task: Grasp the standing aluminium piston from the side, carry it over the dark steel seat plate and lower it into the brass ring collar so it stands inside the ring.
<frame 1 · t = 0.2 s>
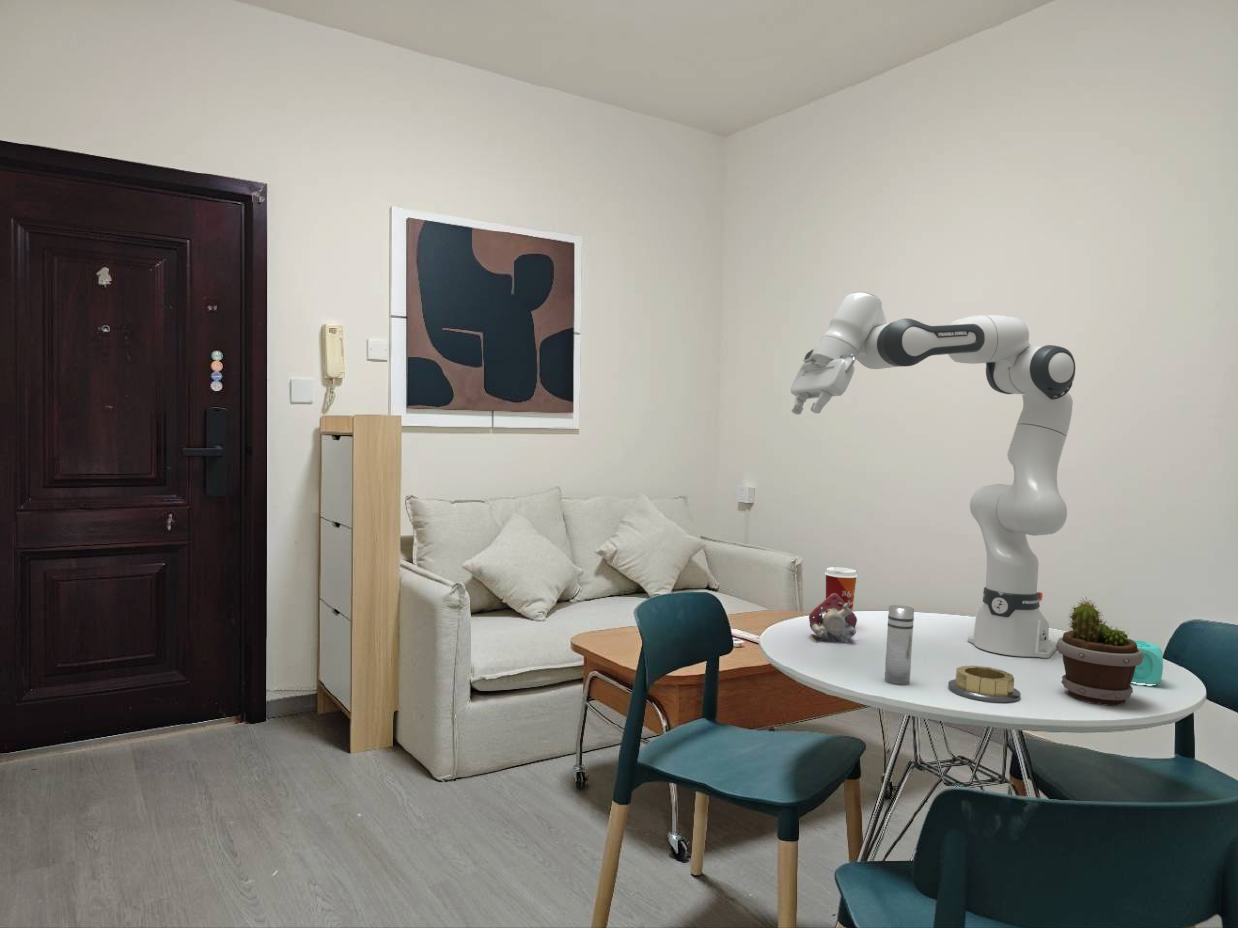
hand: (804, 412, 187), 54 cm above the table, tool tilted 25°, fingers open, 8 cm apart
flowerpot: (1095, 698, 167), on the table
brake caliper: (831, 640, 206), on the table
decorative dice: (1135, 681, 181), on the table
coffee cup: (838, 628, 218), on the table
ring seat: (983, 692, 167), on the table
piston: (897, 681, 172), on the table
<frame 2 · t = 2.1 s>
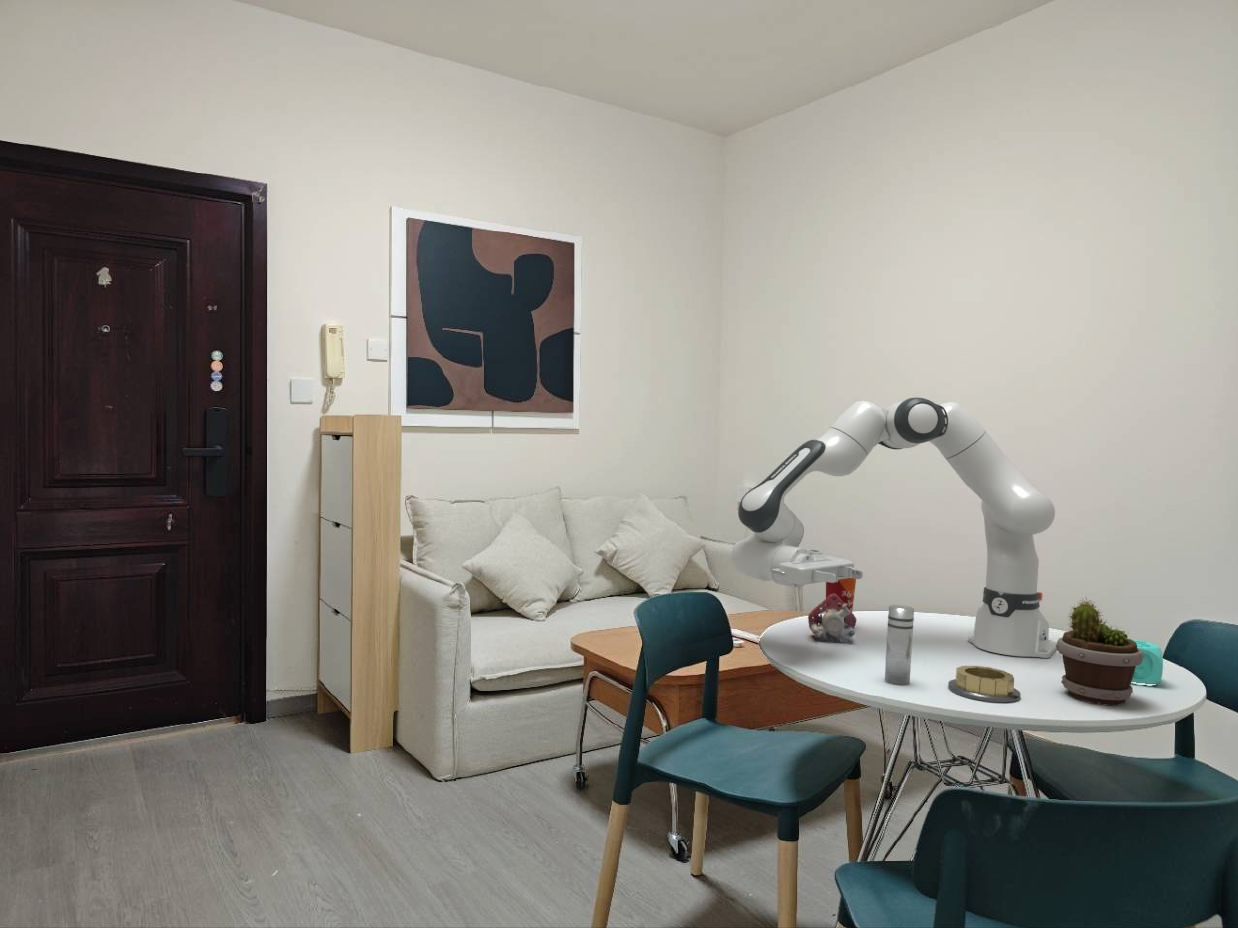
hand: (849, 576, 180), 19 cm above the table, tool horizontal, fingers open, 8 cm apart
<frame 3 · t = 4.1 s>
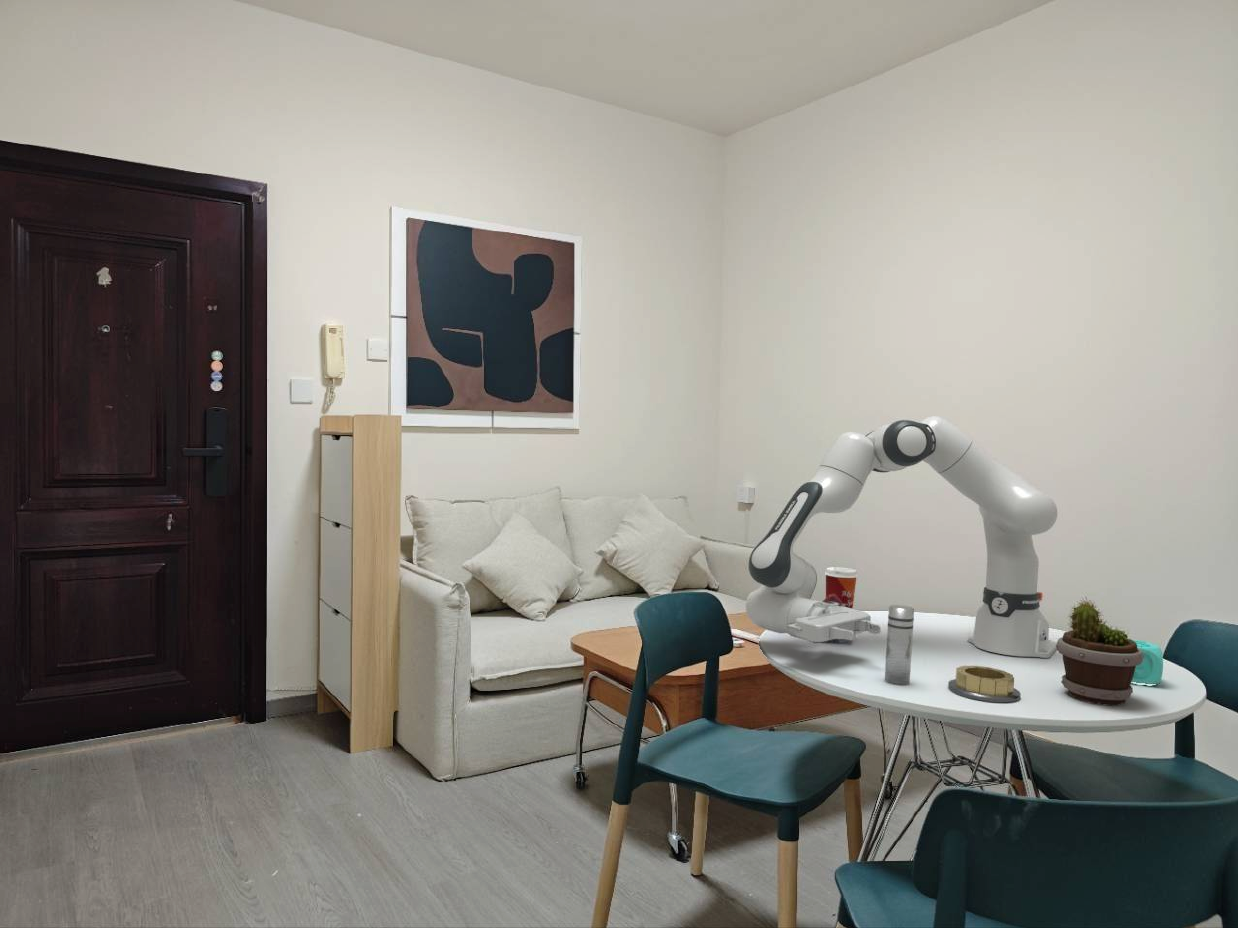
hand: (866, 632, 177), 8 cm above the table, tool horizontal, fingers open, 8 cm apart
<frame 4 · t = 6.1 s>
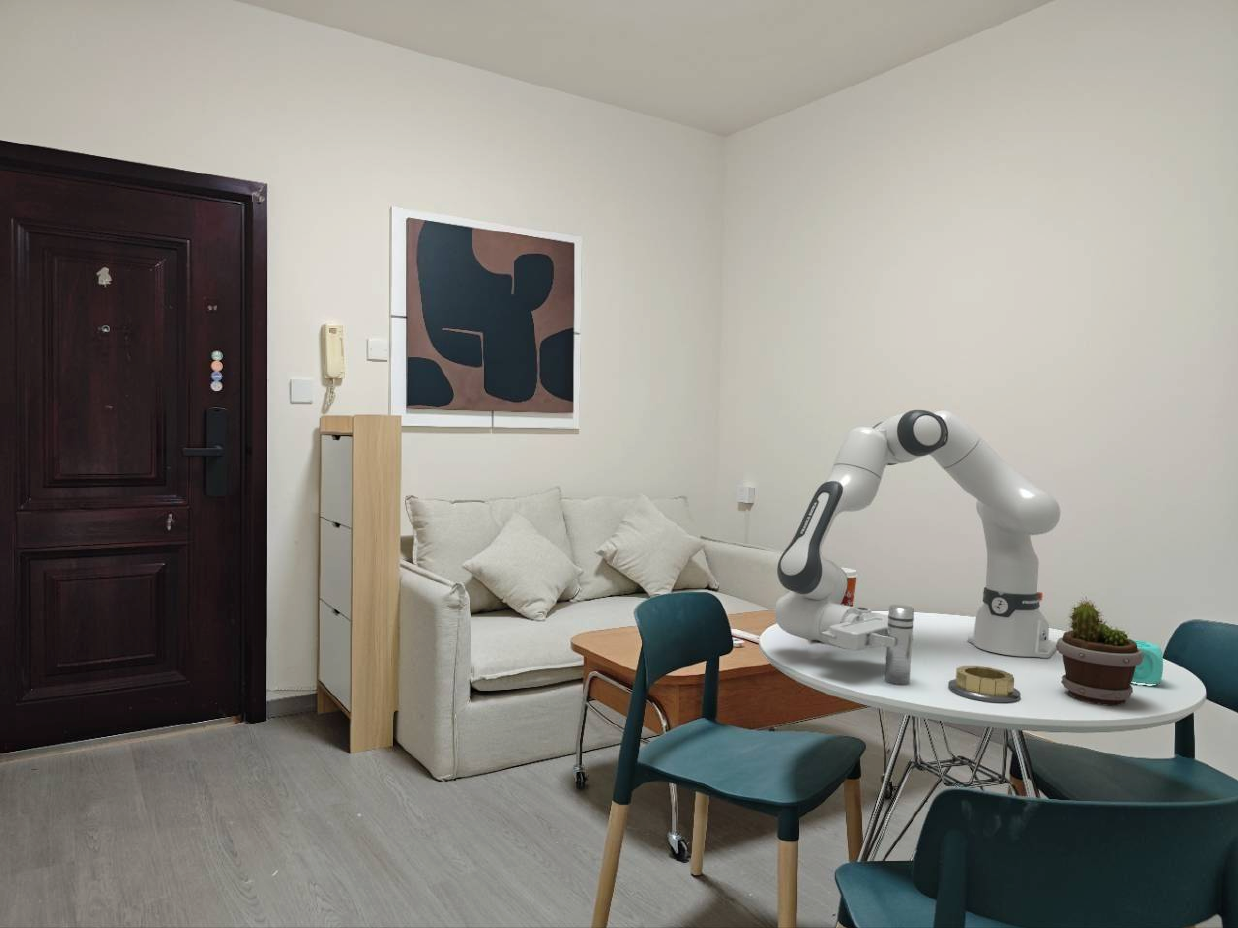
hand: (903, 640, 171), 9 cm above the table, tool horizontal, fingers closed on piston, 5 cm apart
piston: (897, 681, 172), on the table, touching gripper
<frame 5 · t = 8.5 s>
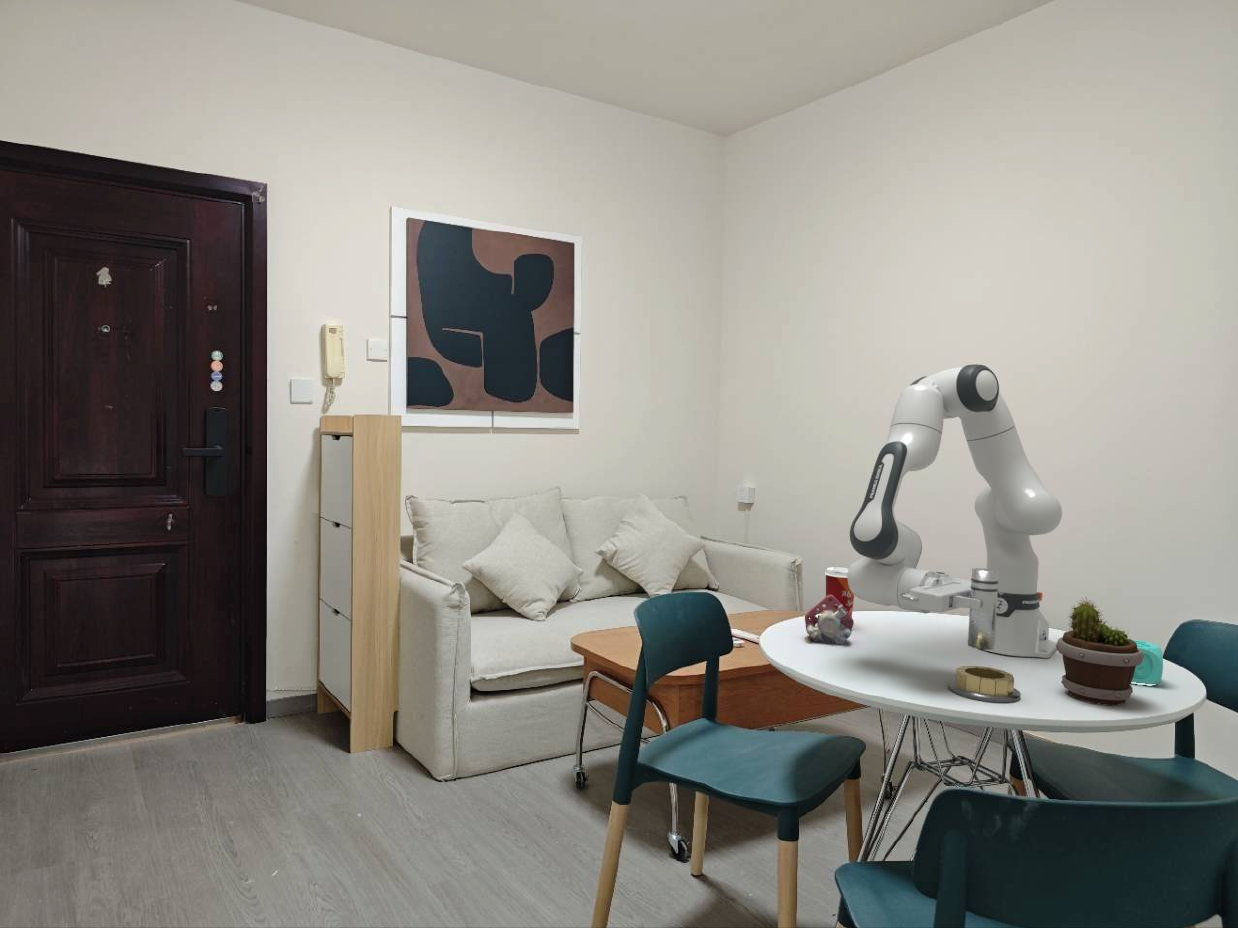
hand: (988, 602, 166), 18 cm above the table, tool horizontal, fingers closed on piston, 5 cm apart
piston: (980, 646, 167), point 9 cm above the table, touching gripper
when the fingers open (11 cm above the table, at t = 10.8 s): piston stays where it is, resting on ring seat.
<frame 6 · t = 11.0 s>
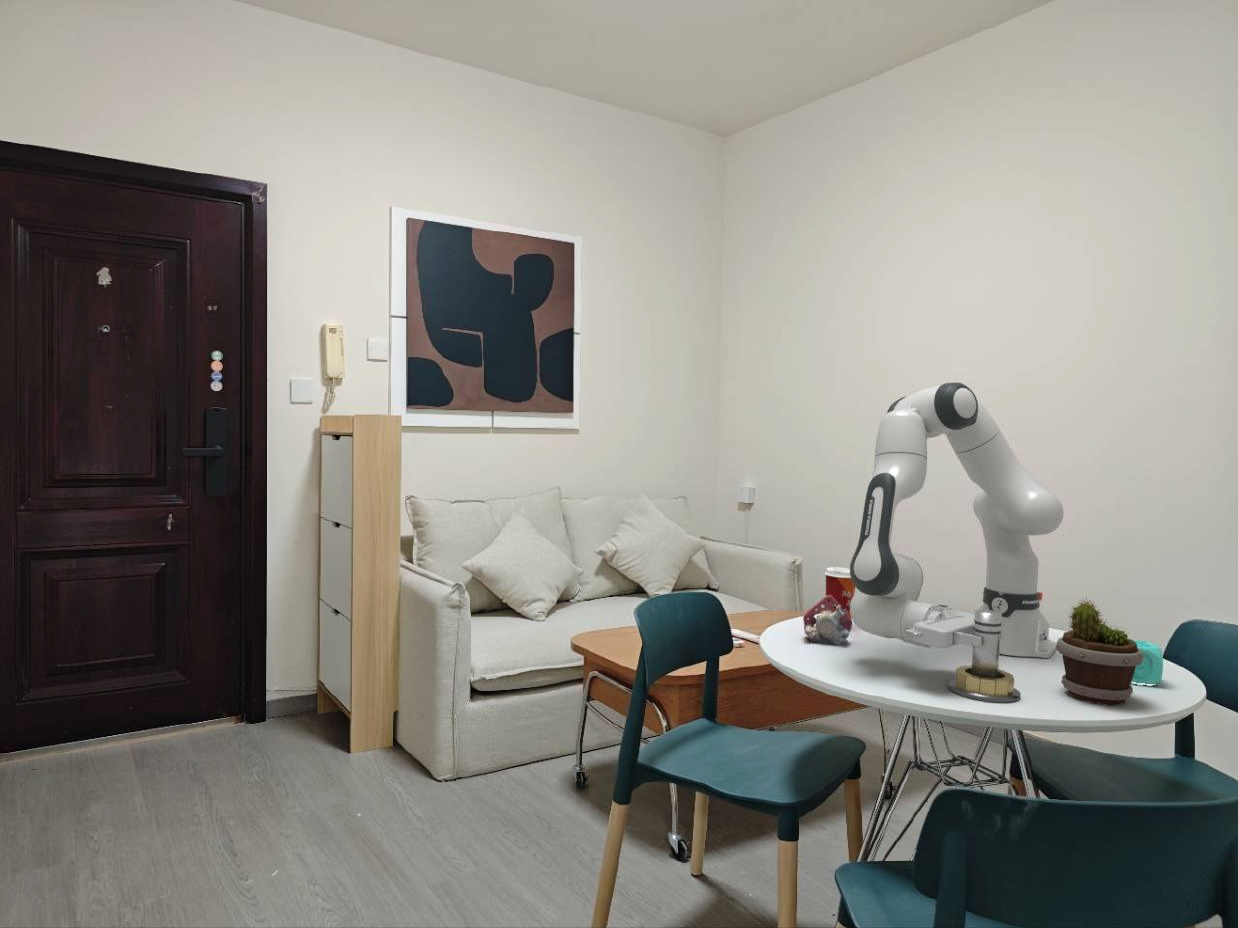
hand: (991, 638, 166), 11 cm above the table, tool horizontal, fingers open, 7 cm apart
piston: (983, 687, 167), point 1 cm above the table, touching ring seat
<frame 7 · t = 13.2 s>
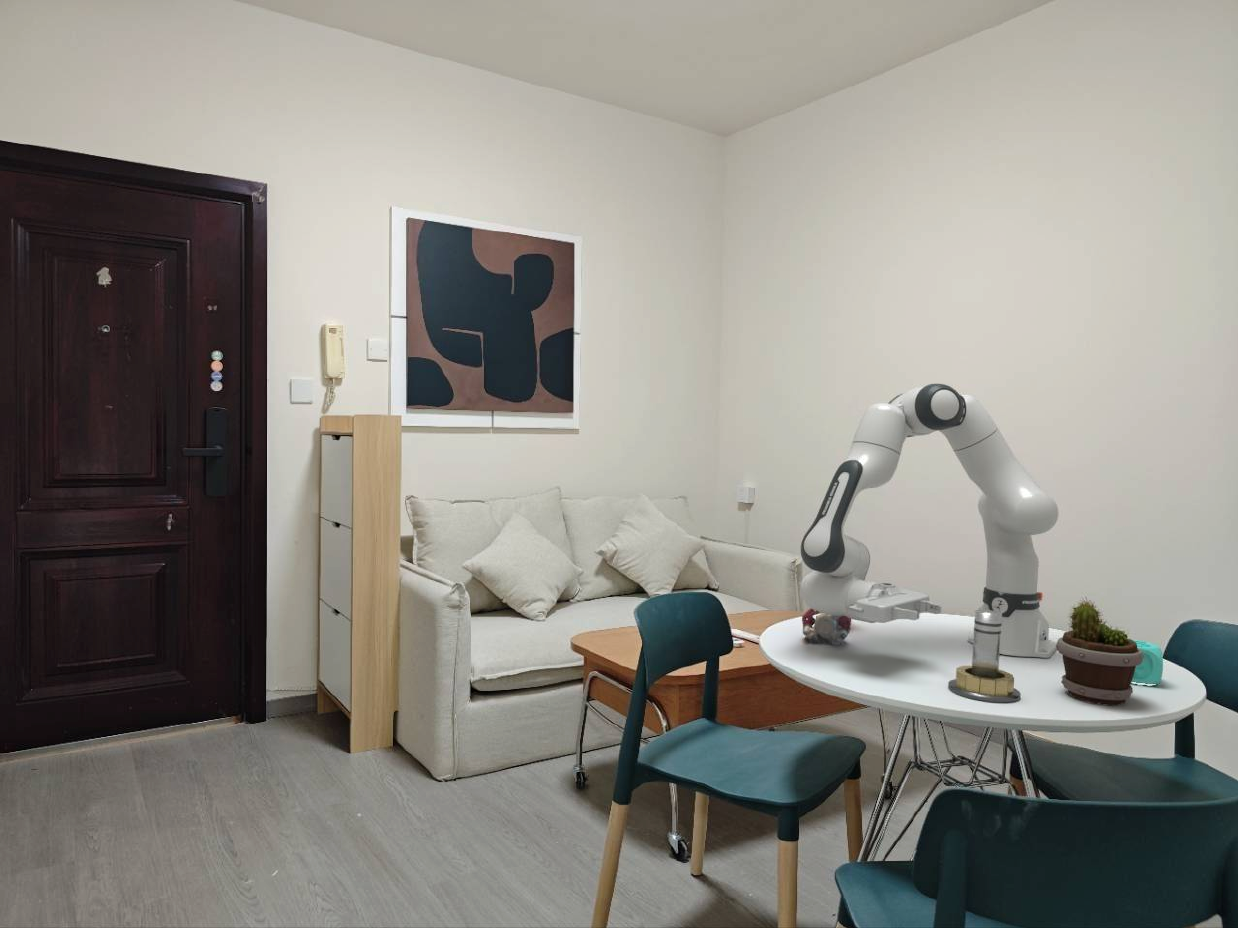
hand: (929, 612, 176), 13 cm above the table, tool horizontal, fingers open, 8 cm apart
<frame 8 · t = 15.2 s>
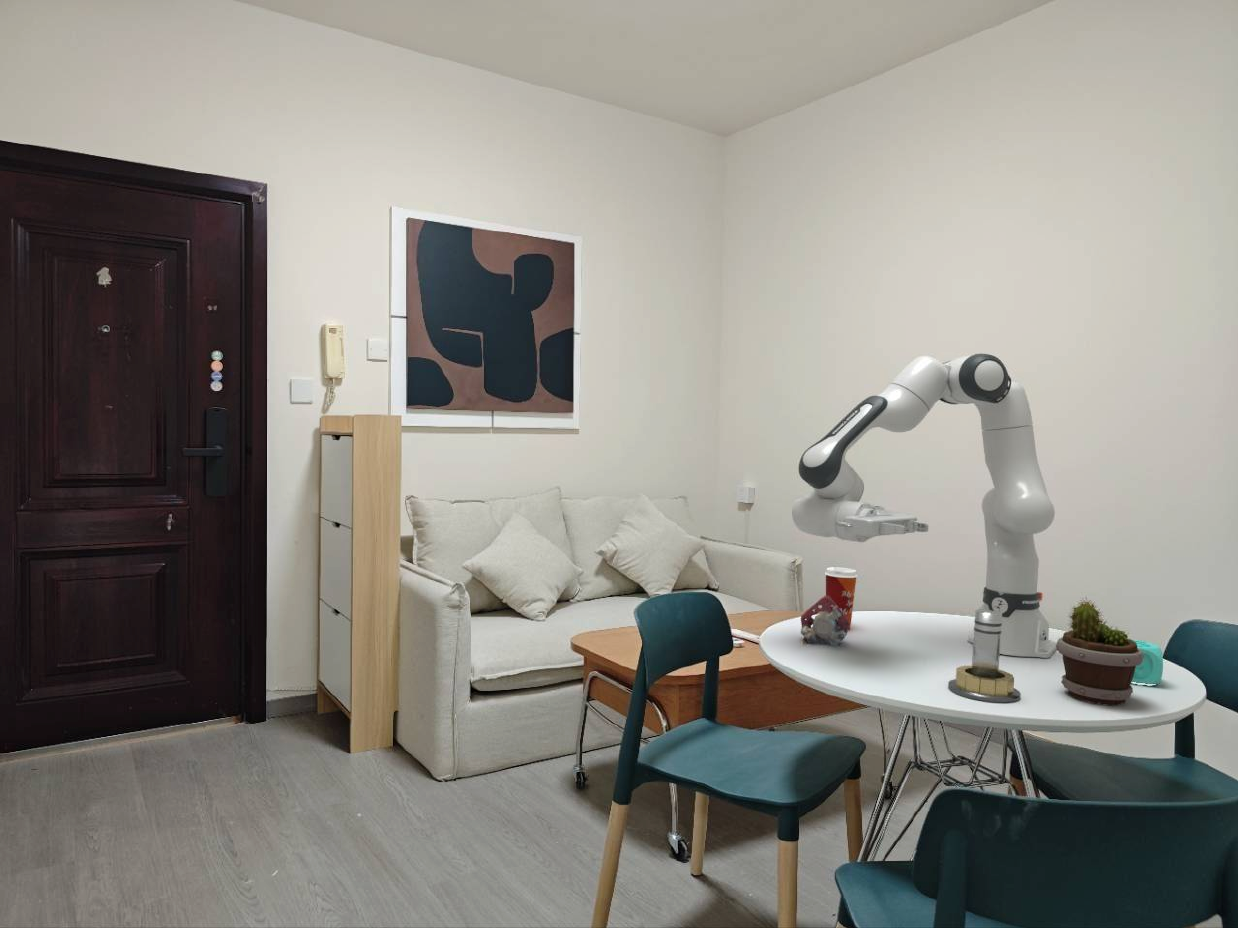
hand: (915, 529, 180), 30 cm above the table, tool horizontal, fingers open, 8 cm apart
at the end: piston 0.0 cm off-centre on the ring seat, point 0.8 cm above the ring seat's base; piston tilted 0°; the gripper is holding nothing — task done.
